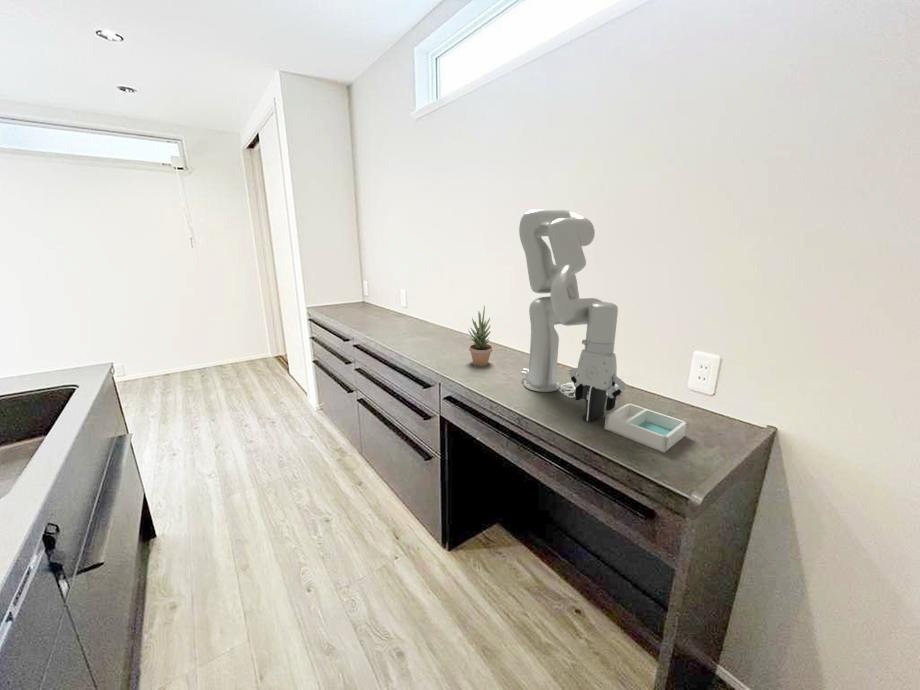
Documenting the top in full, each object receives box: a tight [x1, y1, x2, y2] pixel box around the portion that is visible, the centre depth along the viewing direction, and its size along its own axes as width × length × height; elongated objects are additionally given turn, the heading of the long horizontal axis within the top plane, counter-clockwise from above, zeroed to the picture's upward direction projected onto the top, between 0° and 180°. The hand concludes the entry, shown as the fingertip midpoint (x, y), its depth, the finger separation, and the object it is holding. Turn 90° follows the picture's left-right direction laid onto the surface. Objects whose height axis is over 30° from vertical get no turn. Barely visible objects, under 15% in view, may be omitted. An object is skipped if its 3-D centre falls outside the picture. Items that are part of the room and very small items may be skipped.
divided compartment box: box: [603, 402, 688, 453], centre depth 104 cm, size 16×13×4 cm
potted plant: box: [468, 305, 493, 367], centre depth 157 cm, size 10×10×25 cm
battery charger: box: [581, 385, 607, 423], centre depth 111 cm, size 7×4×11 cm, turn 124°
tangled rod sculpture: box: [558, 381, 619, 399], centre depth 131 cm, size 19×14×4 cm
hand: (593, 404), depth 111 cm, fingers open, 9 cm apart
